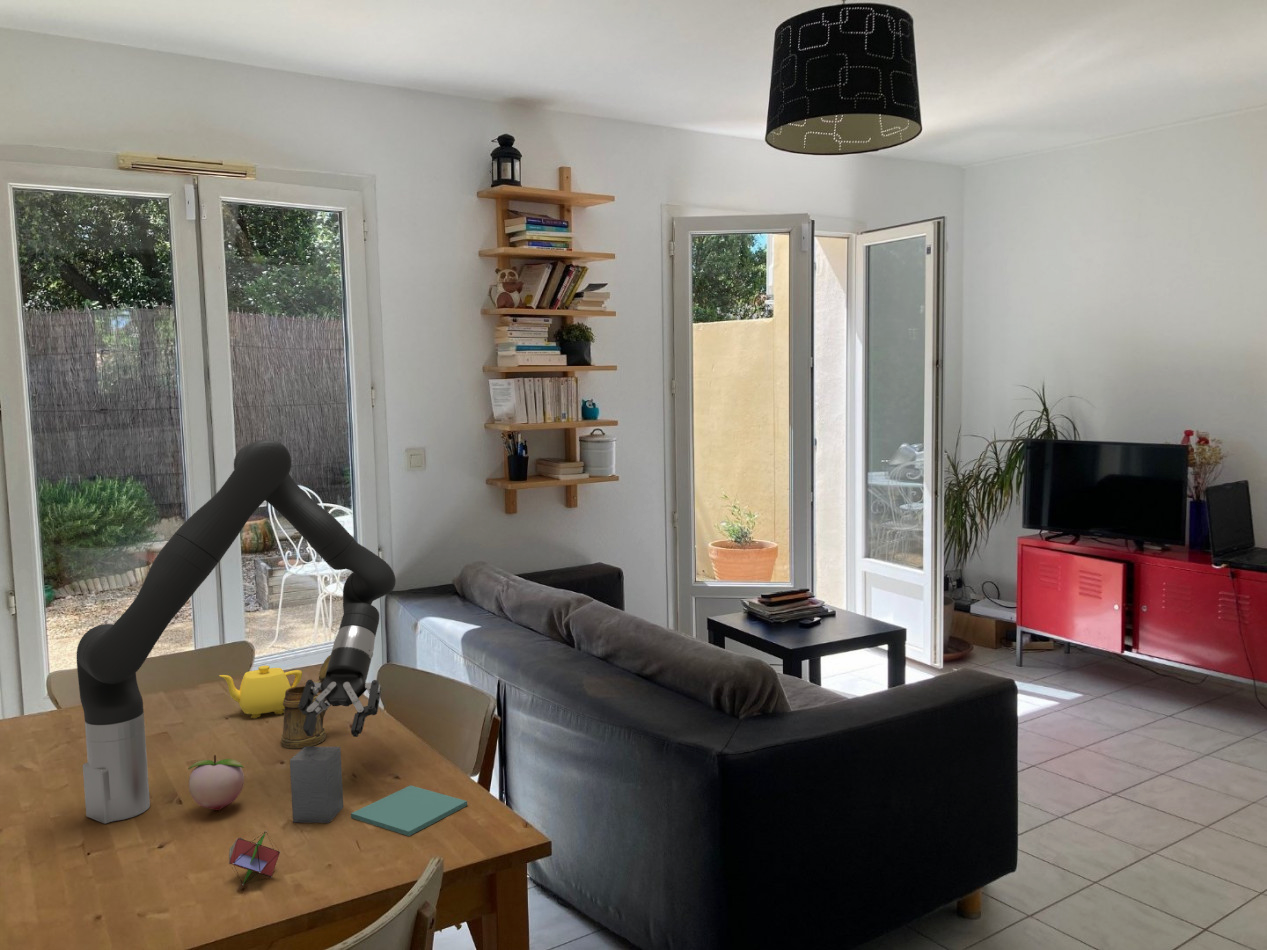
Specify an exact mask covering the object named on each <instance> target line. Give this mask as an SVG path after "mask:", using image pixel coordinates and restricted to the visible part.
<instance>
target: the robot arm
mask: <svg viewBox="0 0 1267 950" xmlns="http://www.w3.org/2000/svg"><path fill="white" fill-rule="evenodd" d="M291 468H292V457H291V453H290V451H289V449H288V448H287V447H286V446H285V445H284V444H283V443H282V442H279V441H276V440H274V439H273V440H272V439H260V440H256V441H254V442H250V443H248V444H246V445H244V446H243V447H241V448H240V449H239V450H238V451H237V453H236V454H235V457H234V459H233V471H232V472H231V474H230V475H229V477H228V478H227V480H226V481H225V482H224V484H223V485H221V487H220V489H219V490H218V491H217V492H216V493H215V494H214V495H213V496H212V497H211V498H210V499H209V500H207V501H206V502H205V503H204V504H203V505H202V506H201V507H200V508H199V509H197V510H196V511H195V512H194V513H193V514H192V515H190V516H189V517H188V518H187V519H186V521H185V522H184V523H182V525H181V526H180V527H179V528H178V529H177V530H176V531H175V532H174V534H173V535H172V536H171V537H170V539H168V541H167V542H166V543H165V545H164V546H163V547H162V548H161V550H160V551H159V552H158V554H157V555H156V557H155V558H154V560H153V562H152V563H151V566H150V568H149V570H148V572H147V573H146V577H145V579H144V581H143V583H142V585H141V588H140V590H139V591H138V593H137V596H136V597H135V599H134V600H133V602H132V603H131V604H130V605H129V606H128V608H127V609H126V610H125V611H124V612H123V613H122V614H121V616H120V617H119V618H118V619H117V620H116V621H115V622H114V623H103V624H99V625H98V624H97V625H96V626H94V627H92V628H90V629H89V630H88V631H86V632H85V633H84V634H83V636H81V638H80V640H79V642H78V644H77V649H76V669H77V671H76V672H77V678H78V679H77V681H78V691H79V698H80V703H81V706H82V711H83V717H84V728H85V744H86V757H87V762H85V763H83V765H82V772H83V775H82V776H83V789H84V803H85V814H86V815H85V816H86V817H87V818H89V819H92V820H95V821H97V822H99V823H102V824H105V825H106V824H108V823H111V822H117V821H123V820H127V819H131V818H133V817H137V816H139V815H141V814H143V813H145V812H146V811H148V810H149V808H150V806H151V804H150V787H149V773H148V771H149V770H148V757H147V744H146V743H147V741H146V740H147V739H146V726H145V713H144V702H143V700H144V699H143V697H142V694H141V691H140V689H139V688H140V687H139V685H138V681H137V672H138V671H139V670H140V668H141V667H143V664H144V663H145V661H146V660H147V658H148V657H149V655H150V654H151V652H152V650H153V649H154V647H155V645H156V644H157V642H158V641H159V639H160V638H161V636H162V634H163V633H164V632H165V629H166V628H167V627H168V626H169V624H170V623H171V622H172V620H173V619H174V617H176V616H177V614H178V613H179V612H180V611H181V609H182V608H183V607H184V606H185V605H186V604H187V602H188V601H189V600H190V599H191V597H192V596H193V595H194V594H195V592H196V591H197V589H199V587H200V586H201V585H202V584H203V583H204V581H206V579H207V578H208V577H209V575H210V574H211V573H212V572H213V570H214V569H215V568H216V566H217V565H218V564H219V563H220V561H221V560H222V559H223V558H224V556H225V554H226V553H227V552H228V551H229V548H230V547H231V546H232V545H233V543H234V542H235V540H236V539H237V538H238V536H239V534H240V533H241V531H242V529H244V527H245V525H246V523H247V522H248V521H249V519H250V518H251V517H252V515H253V514H254V513H255V512H256V511H257V509H259V507H260V506H261V505H262V504H263V503H264V502H265V501H266V502H267V503H268V504H269V505H271V506H272V508H274V509H275V510H276V511H277V512H278V513H279V514H280V515H281V516H282V517H284V519H285V520H286V521H288V523H290V525H291V526H293V528H294V529H295V530H296V531H297V532H298V533H299V534H300V536H302V538H303V539H304V540H305V541H306V542H307V543H308V544H309V546H310V547H311V548H312V549H313V550H314V551H315V552H316V553H317V554H318V555H319V556H320V557H321V559H322V560H323V562H325V563H326V564H327V565H328V566H329V567H330V568H331V569H333V570H335V571H341V570H349V571H350V572H351V573H350V574H349V576H347V578H346V580H345V581H344V585H343V587H342V588H343V589H342V609H343V615H342V617H341V622H340V625H339V629H338V632H337V633H336V634H337V635H336V636H335V638H334V642H333V646H332V649H331V652H330V655H331V656H330V655H329V656H330V660H329V663H328V667H327V671H326V677H325V679H324V680H323V682H322V683H316V682H317V681H313V680H312V679H308V680H307V681H306V683H305V685H304V686H305V688H304V691H303V694H302V696H301V699H300V702H299V705H298V708H299V709H300V710H301V712H302V713H303V714H304V715H306V718H305V722H304V726H303V730H304V731H305V733H306V734H307V736H313V732H314V729H315V725H316V721H317V716H318V715H319V714H320V713H321V712H322V711H323V710H326V709H327V710H328V708H330V707H331V706H332V707H339V706H343V707H349V706H350V705H353V706H354V707H355V710H356V711H357V712H356V713H354V716H353V720H352V724H351V729H350V734H351V735H352V737H355V738H357V737H359V734H362V732H363V729H364V724H365V721H366V718H367V717H368V716H371V715H372V716H376V715H377V714H378V710H379V704H380V700H381V699H380V698H381V693H382V686H381V684H380V683H379V681H378V680H377V679H374V680H372V681H371V682H367V680H368V674H369V670H370V668H371V667H370V666H371V661H372V658H373V656H374V649H375V640H376V636H377V632H378V627H379V623H380V612H379V610H378V609H377V608H376V606H374V605H372V604H373V602H374V601H376V600H378V599H381V598H382V597H384V596H387V595H389V594H390V593H391V592H392V591H393V590H394V588H395V587H396V583H397V582H396V576H395V572H394V571H393V569H392V567H391V566H390V564H389V563H387V562H386V561H385V560H384V559H383V558H382V557H380V556H378V555H377V554H375V553H374V552H373V551H371V550H370V549H368V548H367V547H365V546H363V545H362V544H360V543H358V542H357V540H356V539H355V538H354V537H353V536H352V534H351V533H349V532H348V530H347V529H346V528H345V527H344V526H343V524H342V523H340V521H338V520H337V519H336V518H335V517H334V515H332V514H331V513H329V512H328V511H327V510H326V509H324V508H323V507H322V506H321V505H319V504H318V503H317V502H316V501H314V500H313V498H311V497H310V496H309V495H308V494H307V493H306V492H305V491H304V489H303V490H302V488H301V487H300V486H299V485H298V484H297V483H296V481H295V480H294V479H293V477H292V476H291V474H290V473H291ZM319 690H322V693H318V691H319ZM366 691H367V693H368V694H369V695H368V702H367V705H366V706H364V705H363V704H362V702H361V700H360V698H361V696H362V695H363V694H364V693H365V692H366ZM317 694H318V696H317V697H316V699H315V701H314V702H313V703H312V701H313V698H314V695H317ZM325 698H326V701H325V702H323V701H324V699H325ZM327 710H326V711H327Z"/></svg>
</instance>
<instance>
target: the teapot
mask: <svg viewBox="0 0 1267 950" xmlns="http://www.w3.org/2000/svg"><path fill="white" fill-rule="evenodd" d="M257 668H258V669H256V670H254V669H253V670H250V671H246V672H245V673H244V675H243V677H242V680H241V682H240V686H239V687H240V688H239V689H237V687H236V686H235V682H234V679H233V677H231V676H230V675H227V674H219V675H218V676H219V677H221V678H222V679H224V680H225V682H226V683H227V686H228V691H229V695H230V697H231V699H233V700H234V701H235V702H237V703H238V704H239V707H240V709H241V711H242V712H243V713H244V714H247V715H251V716H250V718H251V719H258V718H257V717H259V718H260V716H261V715H262V714H268V713H272V712H274V715H276V714H280V715H283V714H282V713H284V709H285V707H284V706H283V701H284V698H285V692H286V690H287V689H289V688H293V687H298V685H299V683H300V682H301V680H302V677H303V671H302V670H300V669H294V670H290V671H284V669H282V668H281V667H270V665H261V666H258V667H257ZM288 676H294V677H295V678H294V680H293V683H292V685H290V681H289V679H288Z"/></svg>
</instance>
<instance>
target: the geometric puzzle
mask: <svg viewBox="0 0 1267 950" xmlns="http://www.w3.org/2000/svg"><path fill="white" fill-rule="evenodd" d="M261 833H262V834H261ZM258 834H259V832H257V833H256V835H258ZM265 835H266V836H268V840H269V842H270V843H272V842H273V839H271V836H270V835H269V833H268V832H267V830H265V831H263V832H260V835H259V836H257V837H256V838H254V840H252V841H250V840H245V839H244V838H243V837H242V836H240V837H237V838H236V840H235V841H234V842H233V844H232V845H231V847H230V848H229V852H228V853H229V854H228V864H229V866H230V867H231V869H232V870H233V872H234V873H235V875H236V876H237V878H238V879H239V881H240V883H241V884H242V886H244V885H245V884H248V882H249V881H251V880H252V879H254V877H256V876H258V875H259V874H260V875H262V876H266V877H268V878H273V874H274V871H275V868H276V865H277V863H278V860H279V856H280V853H281V851H280V850H277V849H275V848H274V846H273V845H271V846H272V848H271V847H268V846H264V844H263V841H264V838H265ZM260 836H261V837H260ZM258 838H260V839H259V840H258V841H257V842H254V841H256V839H258ZM270 839H271V840H270ZM271 841H272V842H271ZM262 844H263V845H262ZM273 844H274V845H275V847H277V845H276V844H275V842H273ZM232 866H234V868H235V870H234V869H233V867H232ZM236 867H238V868H241V869H244V870H246V874H245V877H244V880H243V881H242V880H241V877H240V875H239V872H238V871H237V869H236ZM235 871H236V872H235ZM252 873H255V875H254V876H252V877H250V876H251V874H252ZM249 877H250V878H249ZM264 879H265V880H267V878H264ZM261 880H263V879H262V878H261V879H260V881H261ZM256 881H259V879H257V880H256ZM253 882H254V881H252V883H253Z"/></svg>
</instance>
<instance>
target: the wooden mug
mask: <svg viewBox="0 0 1267 950" xmlns="http://www.w3.org/2000/svg"><path fill="white" fill-rule="evenodd" d="M330 656H331V654H330V655H328V656H327V657H326V658H325V660H324V661H323V663H322V666H321V667H320V670H319V672H318V673H319V674H318V680H317V681H315V682H316V683H322V682H323V680H324V679H325V677H326V671H327V667H328V663H329V660H330ZM304 688H305V685H299V686H298V685H297V686H296V687H293V688H289V689H287V690H286V692H285V698H284V701H283V706H284V707H285V709H283V711H284V714H283V725H282V726H283V727H282V734H281V737H280V746H281V747H282V748H286V749H292V750H293V749H297V750H298V749H303V748H304V747H305V746H307V747H315V746H317V745H319V744H321V743H323V742H324V741H325V740H326V737H327V736H326V735H327V733H326V730H325V728H324V727H323V725H324V718H325V715H326V712H327V710H328V708H327V709H326V710H323V711H322V712H321V713H320V714H319V715H318V716H317V721H316V725H315V729H314V732H313V736H307V734H306V733H305V731H304V730H303V726H304V722H305V718H306V715H304V714H303V713H302V712H301V710H300V709H299V708H298V705H299V702H300V699H301V696H302V694H303V691H304ZM321 693H322V690H319V691H318V693H317V694H318V695H319V694H321ZM318 695H314V698H313V701H312V703H313V702H314V701H315V699H316V697H317V696H318ZM325 701H326V698H325V699H324V701H323V702H325Z"/></svg>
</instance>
